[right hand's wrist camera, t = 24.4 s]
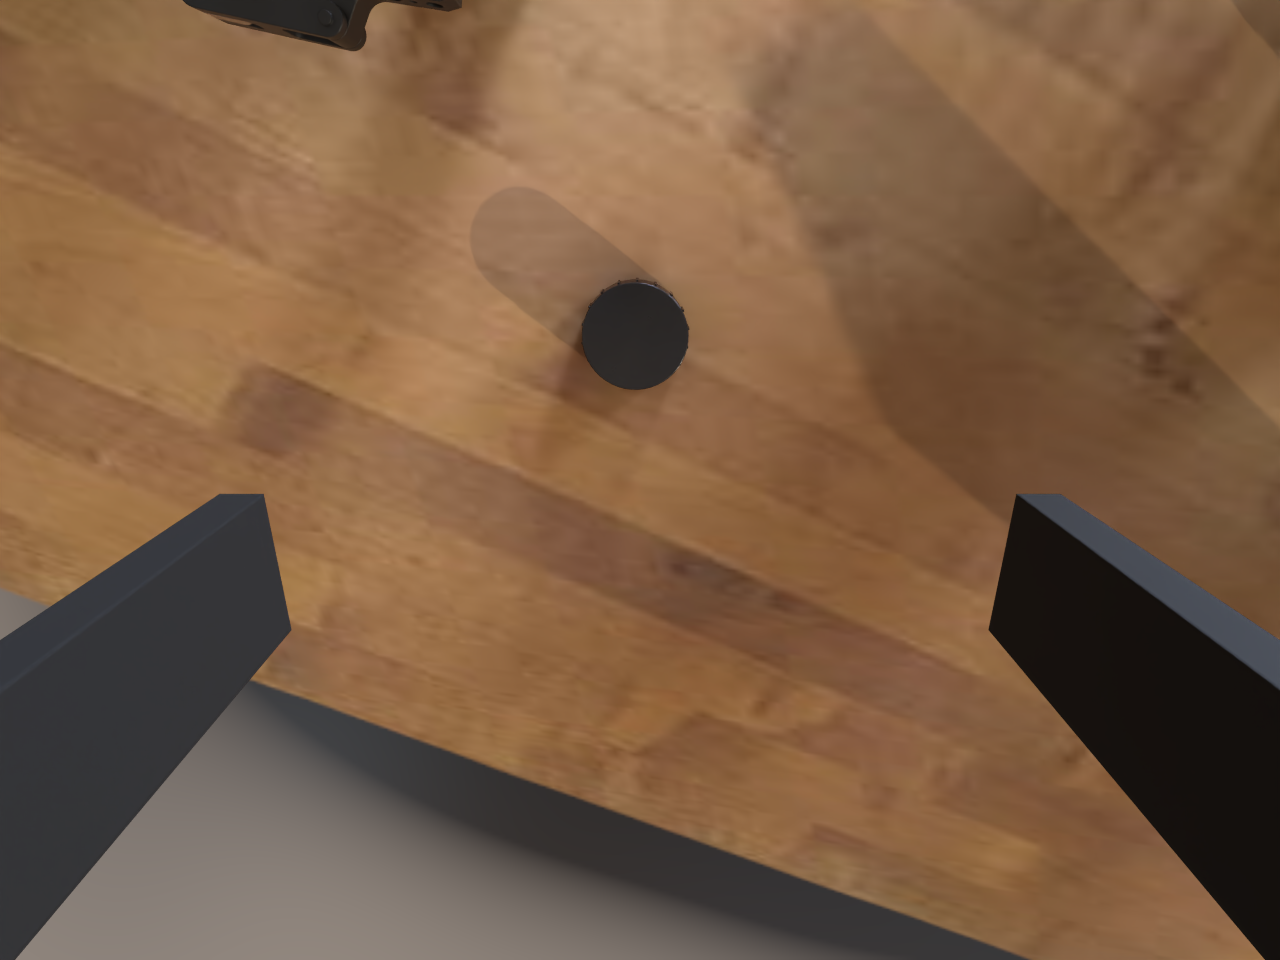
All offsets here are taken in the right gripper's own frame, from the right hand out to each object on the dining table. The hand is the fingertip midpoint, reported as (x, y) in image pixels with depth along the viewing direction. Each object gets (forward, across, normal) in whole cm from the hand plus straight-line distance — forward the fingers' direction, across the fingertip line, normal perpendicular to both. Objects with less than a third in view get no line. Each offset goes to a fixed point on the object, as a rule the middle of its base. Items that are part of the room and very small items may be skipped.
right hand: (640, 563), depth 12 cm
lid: (+25, 0, 0) cm, 25 cm away
